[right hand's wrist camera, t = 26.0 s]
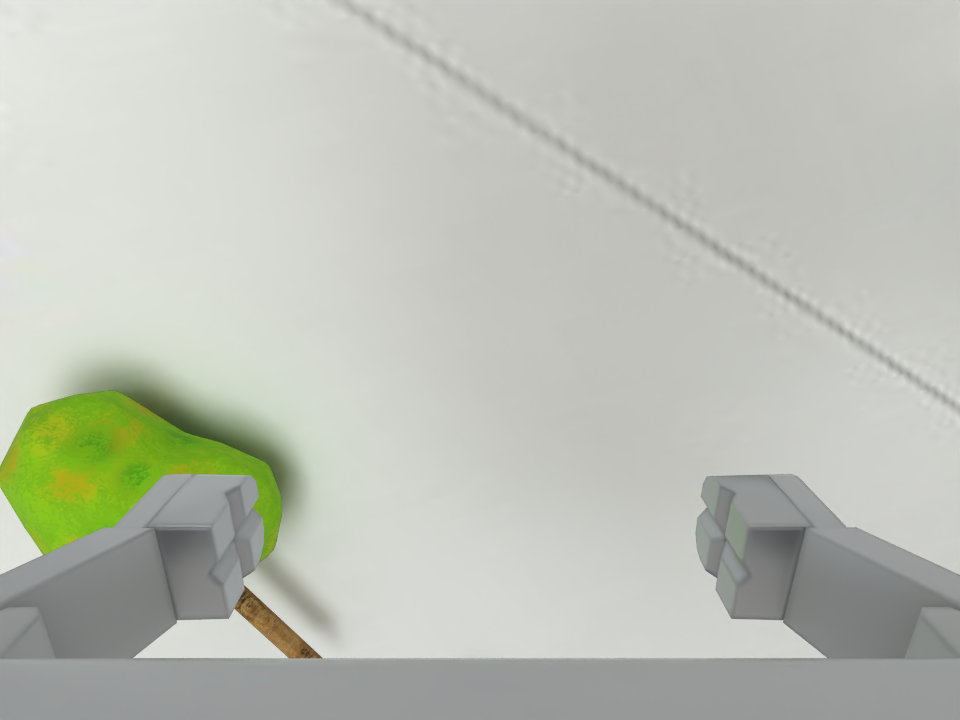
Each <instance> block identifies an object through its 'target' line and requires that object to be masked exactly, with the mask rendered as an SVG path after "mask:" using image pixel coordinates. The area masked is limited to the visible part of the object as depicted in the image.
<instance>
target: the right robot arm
mask: <svg viewBox="0 0 960 720" xmlns="http://www.w3.org/2000/svg"><path fill="white" fill-rule="evenodd" d="M258 497H259V493H258V488H257V483H256V480H255V479H254V478H253V477H252V476H251V475H206V474H197V475H195V474H170V475H165V476H162V477H161V478H160V479H159V480H158V481H157V483H156V484H155V485H154V486H153V487H152V488H151V489H150V490H149V491H148V492H147V493H146V494H145V495H144V496H143V497H142V498H141V499H140V500H139V501H138V502H137V503H136V504H135V505H134V506H133V507H132V508H131V509H130V510H129V512H128V513H127V514H126V515H125V516H124V517H123V518H122V519H121V520H120V521H119V522H118V523H117V524H116V525H115V526H114V527H113V528H102V529H100V530H97V531H95V532H93V533H91V534H89V535H86V536H84V537H82V538H80V539H78V540H75V541H73V542H71V543H69V544H67V545H65V546H62V547H60V548H58V549H56V550H54V551H51V552H49V553H47V554H45V555H43V556H41V557H38V558H36V559H34V560H32V561H30V562H27V563H25V564H23V565H21V566H19V567H16V568H14V569H12V570H10V571H8V572H6V573H3V574H1V575H0V720H960V575H959V574H956V573H954V572H952V571H950V570H948V569H945V568H943V567H941V566H939V565H937V564H935V563H932V562H930V561H928V560H926V559H924V558H921V557H919V556H917V555H915V554H913V553H911V552H908V551H906V550H904V549H902V548H900V547H898V546H895V545H893V544H891V543H889V542H887V541H884V540H882V539H880V538H878V537H876V536H874V535H871V534H869V533H867V532H865V531H863V530H860V529H858V528H847V527H846V526H845V525H844V524H843V523H842V522H841V521H840V520H839V519H838V518H837V517H836V516H835V515H834V514H833V512H832V511H831V510H830V509H829V508H828V507H827V506H826V505H825V504H824V503H823V502H822V501H821V500H820V499H819V498H818V497H817V496H816V495H815V494H814V493H813V492H812V491H811V490H810V489H809V488H808V487H807V485H806V484H805V483H804V482H803V481H802V480H801V479H800V478H799V477H798V476H795V475H793V474H770V475H738V476H707V477H706V479H705V481H704V483H703V487H702V493H701V497H702V499H703V501H704V502H705V504H706V506H707V508H706V509H705V510H704V511H703V512H702V513H701V514H700V515H699V517H698V518H697V526H696V543H697V550H698V554H699V557H700V560H701V562H702V564H703V566H704V568H705V570H706V571H707V572H709V573H710V574H712V575H713V576H715V577H716V578H717V583H716V591H717V593H718V595H719V597H720V599H721V600H722V602H723V604H724V606H725V608H726V610H727V611H728V613H729V615H730V617H731V619H762V620H783V623H784V624H786V625H787V626H788V627H789V628H791V629H792V630H793V631H794V632H796V633H797V634H798V635H799V636H801V637H802V638H803V639H804V640H806V641H807V642H808V643H809V644H811V645H812V646H813V647H814V648H816V649H817V650H818V651H819V652H821V653H822V654H823V655H824V656H826V657H827V658H133V657H134V656H136V655H137V654H138V653H139V652H141V651H142V650H143V649H144V648H146V647H147V646H148V645H149V644H151V643H152V642H153V641H155V640H156V639H157V638H158V637H160V636H161V635H162V634H163V633H165V632H166V631H167V630H168V629H170V628H171V627H172V626H173V625H175V624H176V623H177V621H176V620H197V619H229V617H230V615H231V613H232V612H233V610H234V608H235V606H236V604H237V602H238V600H239V599H240V597H241V595H242V593H243V591H244V583H243V578H244V577H245V576H247V575H248V574H250V573H251V572H253V571H254V570H255V568H256V566H257V564H258V562H259V560H260V558H261V553H262V549H263V544H264V525H263V518H262V517H261V516H260V514H259V513H258V512H257V511H256V510H255V509H254V508H253V506H254V504H255V502H256V501H257V499H258Z"/></svg>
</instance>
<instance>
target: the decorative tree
mask: <svg viewBox="0 0 960 720" xmlns="http://www.w3.org/2000/svg"><path fill="white" fill-rule="evenodd" d="M170 474H195V475H197V474H206V475H251V476H252V477H253V478H254V479H255V480H256V483H257V488H258V493H259V497H258V499H257V501H256V502H255V504H254V506H253V508H254V509H255V510H256V511H257V512H258V513H259V514H260V516H261V517H262V518H263V525H264V544H263V549H262V553H261V558H260V560H259V562H260V561H261V560H263V559H264V558H266V557H267V556H268V555H269V554H270V553H271V552H272V551H273V550H274V548H275V545H276V541H277V536H278V531H279V527H280V522H281V517H282V498H281V494H280V492H279V489H278V486H277V483H276V481H275V478H274V475H273V473H272V470H271V468H270V466H269V465H268V464H267V463H265V462H264V461H262V460H260V459H257V458H255V457H253V456H250V455H248V454H246V453H244V452H241V451H239V450H237V449H235V448H232V447H230V446H228V445H226V444H223V443H221V442H217V441H214V440H210V439H206V438H202V437H198V436H194V435H191V434H188V433H185V432H184V431H182V430H180V429H179V428H177V427H175V426H174V425H172V424H170V423H169V422H167V421H166V420H164V419H162V418H161V417H159V416H158V415H156V414H155V413H153V412H151V411H150V410H148V409H147V408H145V407H143V406H142V405H140V404H139V403H137V402H135V401H134V400H132V399H131V398H129V397H127V396H126V395H124V394H122V393H120V392H118V391H101V392H93V393H85V394H78V395H73V396H69V397H65V398H62V399H58V400H55V401H51V402H48V403H44V404H41V405H38V406H36V407H33V408H31V409H30V411H29V412H28V413H27V415H26V417H25V419H24V421H23V423H22V425H21V427H20V429H19V431H18V432H17V434H16V436H15V438H14V440H13V442H12V444H11V446H10V448H9V450H8V452H7V454H6V456H5V458H4V460H3V462H2V464H1V466H0V488H1V489H2V491H3V493H4V494H5V496H6V498H7V499H8V501H9V503H10V504H11V506H12V508H13V509H14V511H15V512H16V514H17V516H18V517H19V519H20V521H21V522H22V524H23V526H24V527H25V529H26V530H27V532H28V533H29V535H30V536H31V537H32V539H33V540H34V542H35V543H36V545H37V546H38V548H39V549H40V551H41V552H42V554H43V555H45V554H47V553H49V552H51V551H54V550H56V549H58V548H60V547H62V546H65V545H67V544H69V543H71V542H73V541H75V540H78V539H80V538H82V537H84V536H86V535H89V534H91V533H93V532H95V531H97V530H100V529H102V528H113V527H114V526H115V525H116V524H117V523H118V522H119V521H120V520H121V519H122V518H123V517H124V516H125V515H126V514H127V513H128V512H129V510H130V509H131V508H132V507H133V506H134V505H135V504H136V503H137V502H138V501H139V500H140V499H141V498H142V497H143V496H144V495H145V494H146V493H147V492H148V491H149V490H150V489H151V488H152V487H153V486H154V485H155V484H156V483H157V481H158V480H159V479H160V478H161V477H162V476H165V475H170ZM259 562H258V563H259ZM234 609H235V610H236V611H238V612H239V613H240V614H241V615H242V616H243V617H244V618H245V619H246V620H247V621H249V622H250V623H251V624H252V625H253V626H254V627H255V628H256V629H257V630H259V631H260V632H261V633H262V634H263V635H264V636H265V637H266V638H267V639H268V640H270V641H271V642H272V643H273V644H274V645H275V646H276V647H277V648H278V649H280V650H281V651H282V652H283V653H284V654H285V655H286V656H287V657H288V658H322V657H321V656H320V655H319V654H318V653H317V652H315V651H314V650H313V649H312V648H311V647H310V646H309V645H308V644H307V643H306V642H305V641H304V640H303V639H301V638H300V637H299V636H298V635H297V634H296V633H295V632H294V631H293V630H292V629H291V628H290V627H289V626H288V625H286V624H285V623H284V622H283V621H282V620H281V619H280V618H279V617H278V616H277V615H276V614H275V613H274V612H272V611H271V610H270V609H269V608H268V607H267V606H266V605H265V604H264V603H263V602H262V601H261V600H260V599H258V598H257V597H256V596H255V595H254V594H253V593H252V592H251V591H250V590H249V589H248V588H247V587H246V586H245V585H244V591H243V593H242V595H241V597H240V599H239V600H238V602H237V604H236V606H235V608H234Z"/></svg>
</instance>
